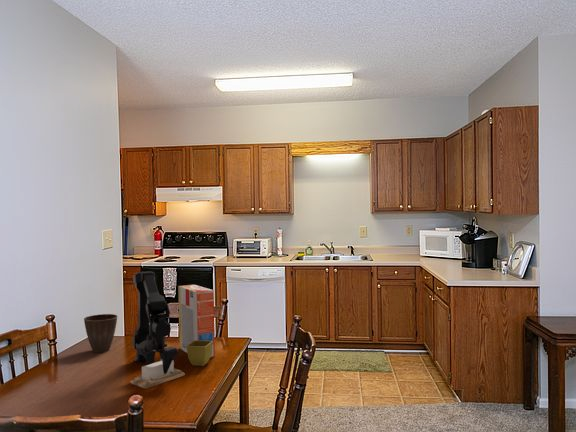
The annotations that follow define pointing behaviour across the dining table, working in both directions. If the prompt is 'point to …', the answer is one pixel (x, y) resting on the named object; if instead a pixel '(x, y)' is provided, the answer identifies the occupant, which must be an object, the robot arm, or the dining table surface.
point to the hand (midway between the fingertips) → (157, 371)
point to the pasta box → (196, 315)
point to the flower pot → (199, 352)
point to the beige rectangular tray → (156, 379)
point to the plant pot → (100, 331)
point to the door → (155, 370)
